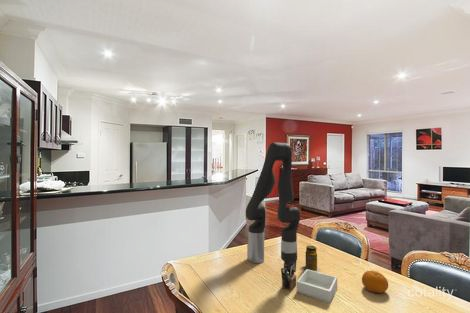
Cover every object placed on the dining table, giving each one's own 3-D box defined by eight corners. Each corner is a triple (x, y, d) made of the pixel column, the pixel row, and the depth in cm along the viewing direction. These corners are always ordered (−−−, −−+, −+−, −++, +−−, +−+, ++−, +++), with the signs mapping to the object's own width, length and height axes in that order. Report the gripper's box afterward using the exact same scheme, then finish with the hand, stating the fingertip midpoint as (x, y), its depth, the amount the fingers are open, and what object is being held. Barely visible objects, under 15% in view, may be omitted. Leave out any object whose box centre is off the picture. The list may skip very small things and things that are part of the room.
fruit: (388, 299, 104) (388, 280, 104) (361, 292, 110) (361, 274, 110) (388, 288, 113) (388, 270, 113) (362, 281, 118) (362, 265, 118)
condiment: (320, 269, 131) (320, 247, 131) (310, 274, 126) (310, 251, 126) (309, 264, 137) (309, 243, 137) (299, 268, 133) (299, 246, 133)
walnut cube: (282, 287, 114) (282, 276, 114) (286, 282, 118) (286, 272, 118) (292, 290, 111) (292, 279, 111) (296, 285, 115) (296, 275, 115)
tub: (296, 292, 109) (296, 281, 109) (306, 279, 121) (306, 269, 121) (330, 303, 101) (330, 291, 101) (337, 287, 113) (337, 277, 113)
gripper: (287, 243, 122) (287, 276, 123) (275, 252, 111) (275, 289, 111) (301, 246, 118) (301, 280, 118) (291, 256, 106) (291, 295, 106)
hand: (289, 285), depth 114 cm, fingers closed on walnut cube, 5 cm apart
